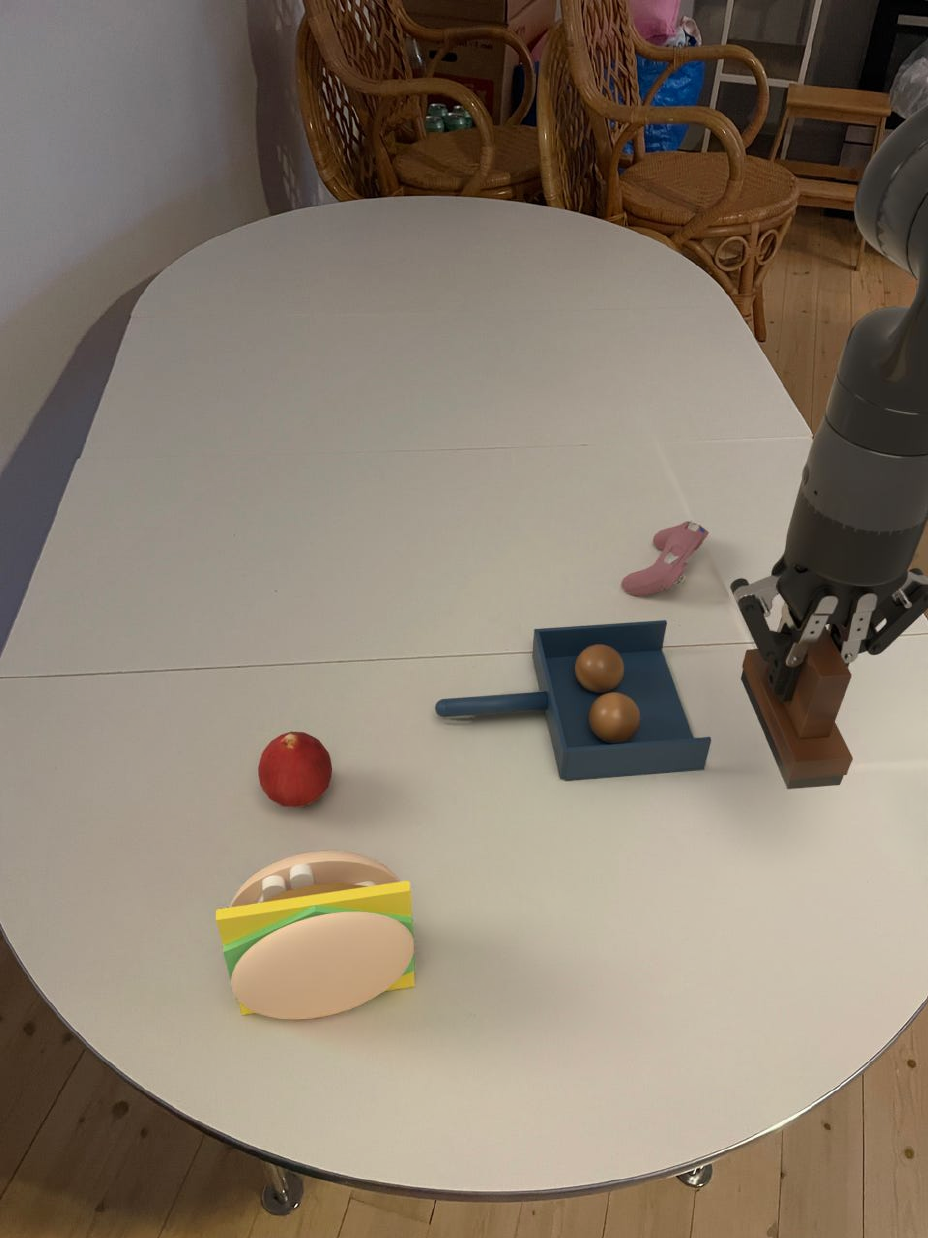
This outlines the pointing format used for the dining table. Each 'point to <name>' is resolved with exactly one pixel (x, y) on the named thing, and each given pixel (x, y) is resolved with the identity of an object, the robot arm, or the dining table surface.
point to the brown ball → (599, 668)
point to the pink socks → (667, 559)
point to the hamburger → (317, 935)
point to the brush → (804, 715)
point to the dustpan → (568, 703)
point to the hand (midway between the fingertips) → (801, 690)
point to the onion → (295, 769)
